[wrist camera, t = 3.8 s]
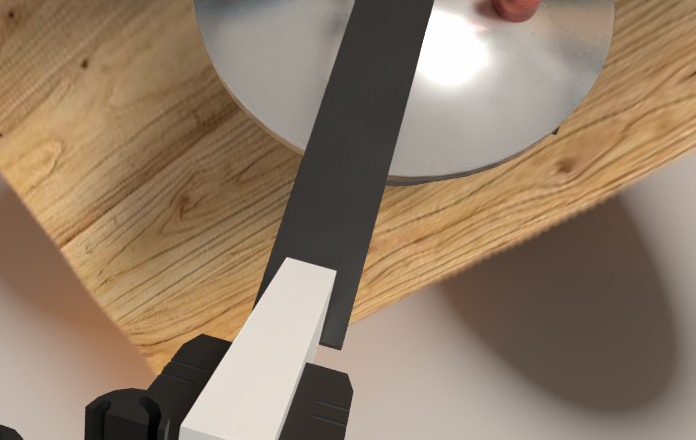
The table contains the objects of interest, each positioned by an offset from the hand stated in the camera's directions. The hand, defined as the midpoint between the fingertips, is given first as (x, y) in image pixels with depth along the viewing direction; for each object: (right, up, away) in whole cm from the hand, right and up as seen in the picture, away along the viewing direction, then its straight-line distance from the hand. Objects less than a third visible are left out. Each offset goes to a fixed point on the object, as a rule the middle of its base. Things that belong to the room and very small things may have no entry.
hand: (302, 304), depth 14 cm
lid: (+3, +10, +8) cm, 13 cm away
